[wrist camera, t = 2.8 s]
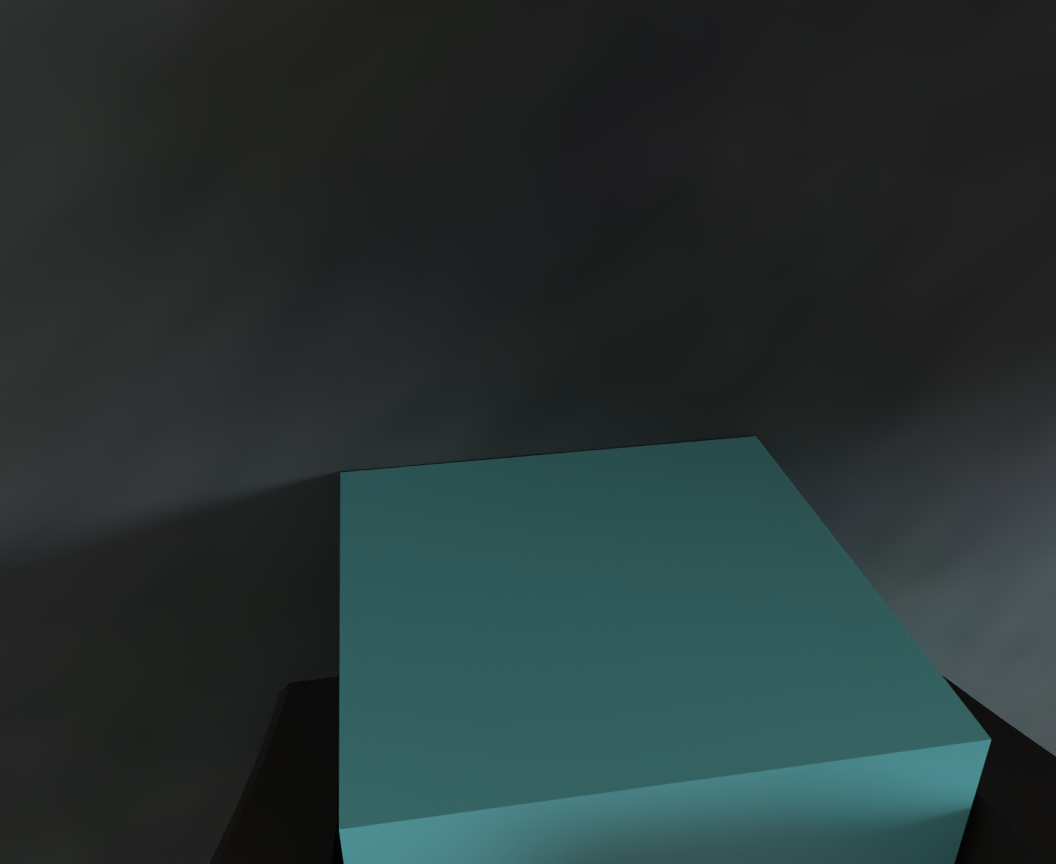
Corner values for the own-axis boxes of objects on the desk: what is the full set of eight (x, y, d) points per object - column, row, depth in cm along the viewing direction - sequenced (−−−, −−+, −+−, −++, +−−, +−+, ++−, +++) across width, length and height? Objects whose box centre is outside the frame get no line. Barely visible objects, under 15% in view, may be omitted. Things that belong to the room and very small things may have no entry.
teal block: (756, 436, 11) (991, 739, 7) (720, 736, 13) (884, 1098, 9) (339, 472, 10) (338, 829, 6) (375, 781, 12) (389, 1193, 8)
